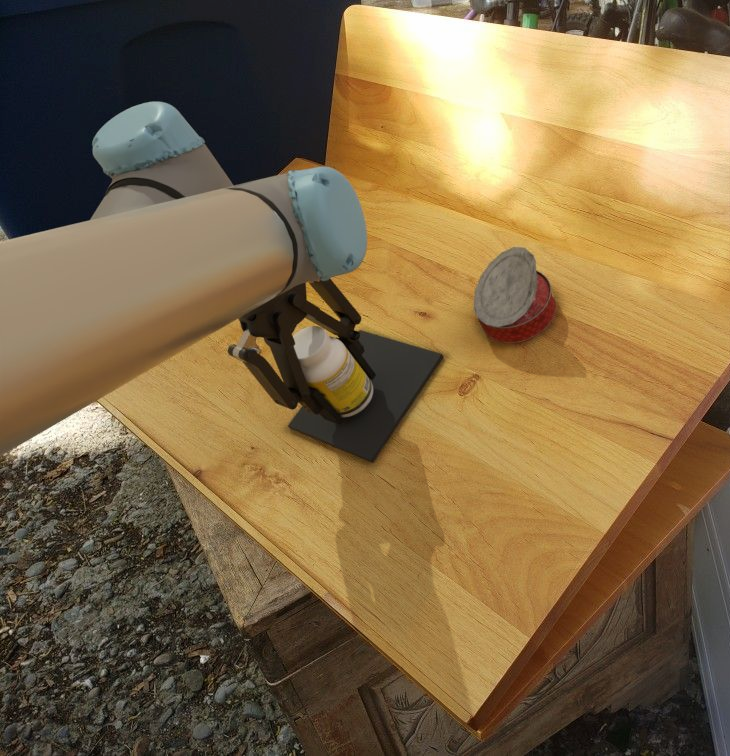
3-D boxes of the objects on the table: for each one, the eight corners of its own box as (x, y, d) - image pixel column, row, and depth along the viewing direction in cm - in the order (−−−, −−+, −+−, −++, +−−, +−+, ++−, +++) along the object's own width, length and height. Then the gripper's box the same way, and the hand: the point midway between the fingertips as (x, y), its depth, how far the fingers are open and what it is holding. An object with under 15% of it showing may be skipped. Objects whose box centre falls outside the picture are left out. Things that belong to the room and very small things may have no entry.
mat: (372, 463, 78) (370, 460, 78) (289, 428, 85) (287, 425, 85) (443, 356, 85) (442, 353, 84) (361, 332, 92) (359, 329, 91)
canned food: (556, 351, 86) (542, 336, 76) (480, 347, 89) (456, 333, 79) (563, 264, 87) (549, 239, 78) (488, 263, 90) (466, 238, 80)
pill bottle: (320, 399, 84) (271, 344, 76) (360, 369, 85) (317, 311, 77) (342, 428, 80) (294, 374, 72) (383, 396, 81) (341, 338, 73)
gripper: (276, 190, 71) (371, 331, 88) (149, 328, 63) (281, 452, 80) (327, 199, 67) (416, 343, 85) (199, 346, 59) (326, 472, 77)
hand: (350, 396), depth 83 cm, fingers closed on pill bottle, 6 cm apart
